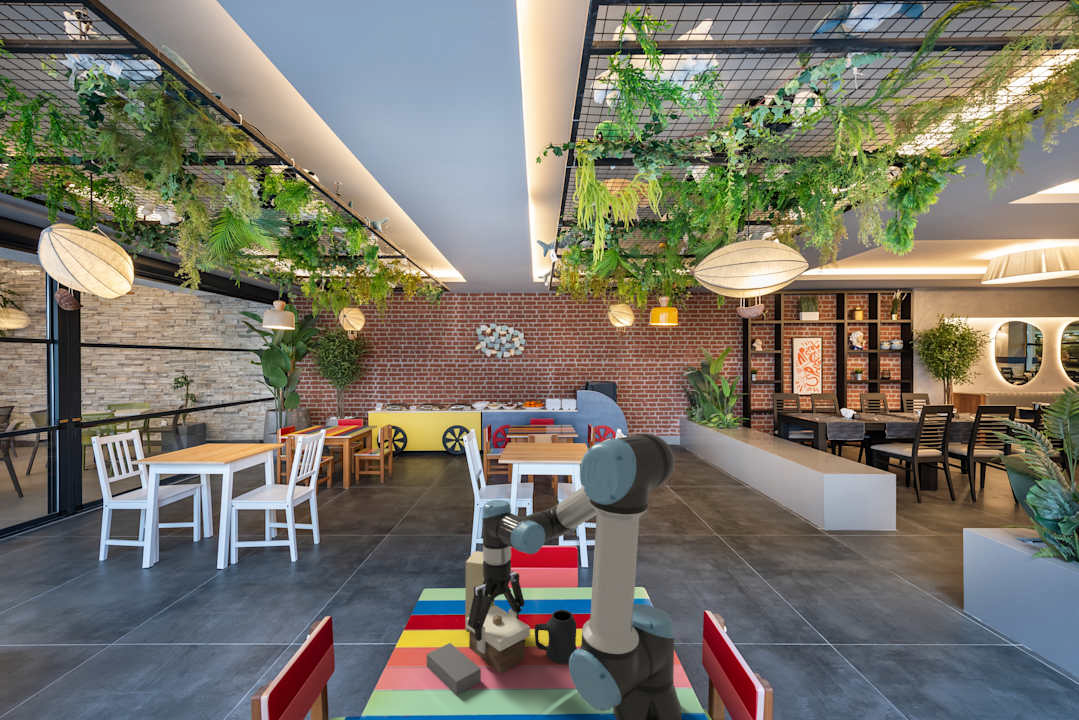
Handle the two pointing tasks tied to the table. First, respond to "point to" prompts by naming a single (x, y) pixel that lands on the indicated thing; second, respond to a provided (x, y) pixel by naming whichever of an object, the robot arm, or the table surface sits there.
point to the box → (499, 654)
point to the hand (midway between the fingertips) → (497, 642)
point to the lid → (502, 629)
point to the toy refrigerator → (473, 580)
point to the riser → (453, 668)
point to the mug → (558, 636)
